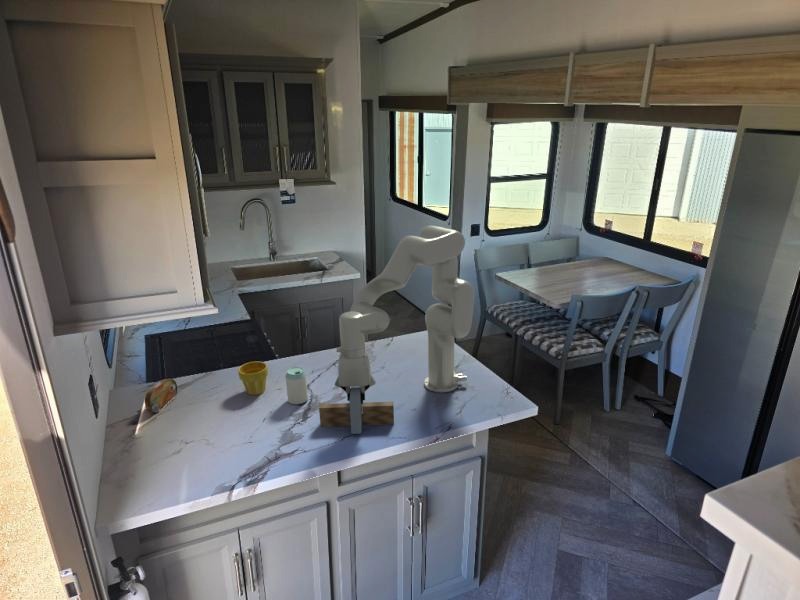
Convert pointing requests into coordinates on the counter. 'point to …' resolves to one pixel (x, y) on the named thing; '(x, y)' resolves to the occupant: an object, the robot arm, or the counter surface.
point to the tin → (160, 395)
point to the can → (296, 385)
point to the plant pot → (253, 377)
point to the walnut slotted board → (370, 416)
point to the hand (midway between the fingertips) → (356, 401)
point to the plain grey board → (355, 409)
